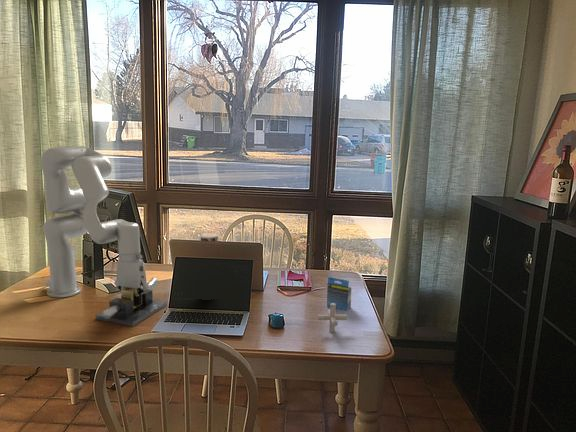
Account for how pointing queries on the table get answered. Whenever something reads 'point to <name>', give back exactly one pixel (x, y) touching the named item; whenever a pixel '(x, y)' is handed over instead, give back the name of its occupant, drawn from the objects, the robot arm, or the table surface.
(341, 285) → the label tape box
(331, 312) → the pipe connector
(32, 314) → the table surface
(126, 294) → the cream rectangular block
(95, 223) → the robot arm
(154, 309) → the shaft bench
